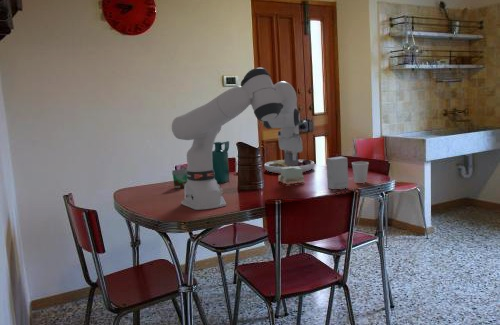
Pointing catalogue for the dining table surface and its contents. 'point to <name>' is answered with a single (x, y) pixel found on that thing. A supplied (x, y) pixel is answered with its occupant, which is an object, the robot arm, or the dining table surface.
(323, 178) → the dining table surface
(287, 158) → the grey block
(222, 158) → the teal gas canister
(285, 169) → the tower top
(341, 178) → the skincare box
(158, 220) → the dining table surface
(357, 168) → the dixie cup
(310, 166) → the bowl
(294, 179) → the tower base
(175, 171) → the food container
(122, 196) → the dining table surface
